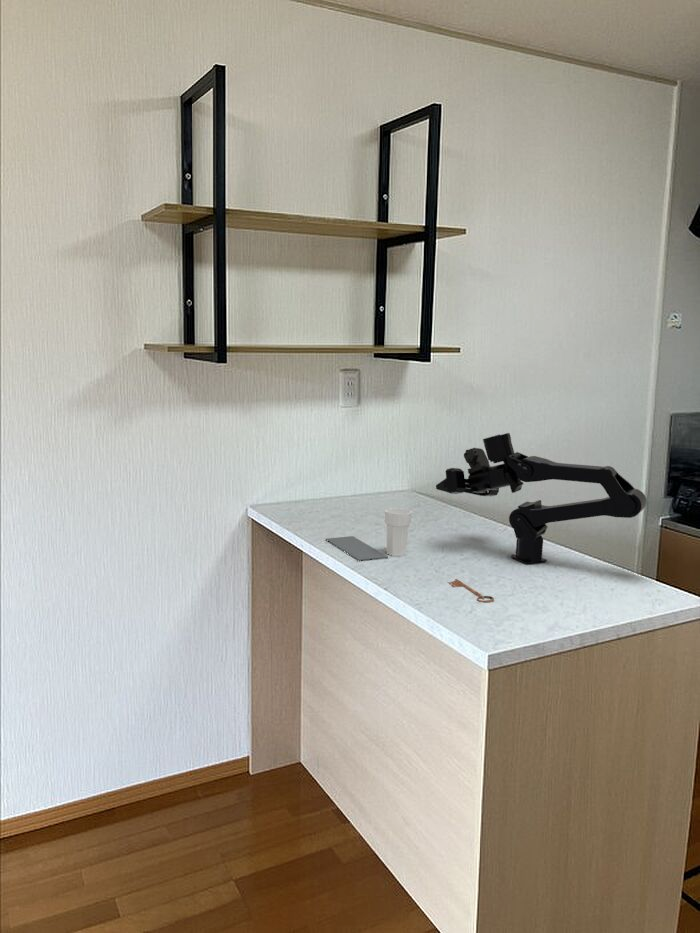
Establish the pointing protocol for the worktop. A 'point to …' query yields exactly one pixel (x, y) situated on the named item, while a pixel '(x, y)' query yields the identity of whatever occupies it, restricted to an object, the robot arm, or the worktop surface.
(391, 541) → the cup
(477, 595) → the key
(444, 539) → the worktop surface
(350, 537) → the mat
